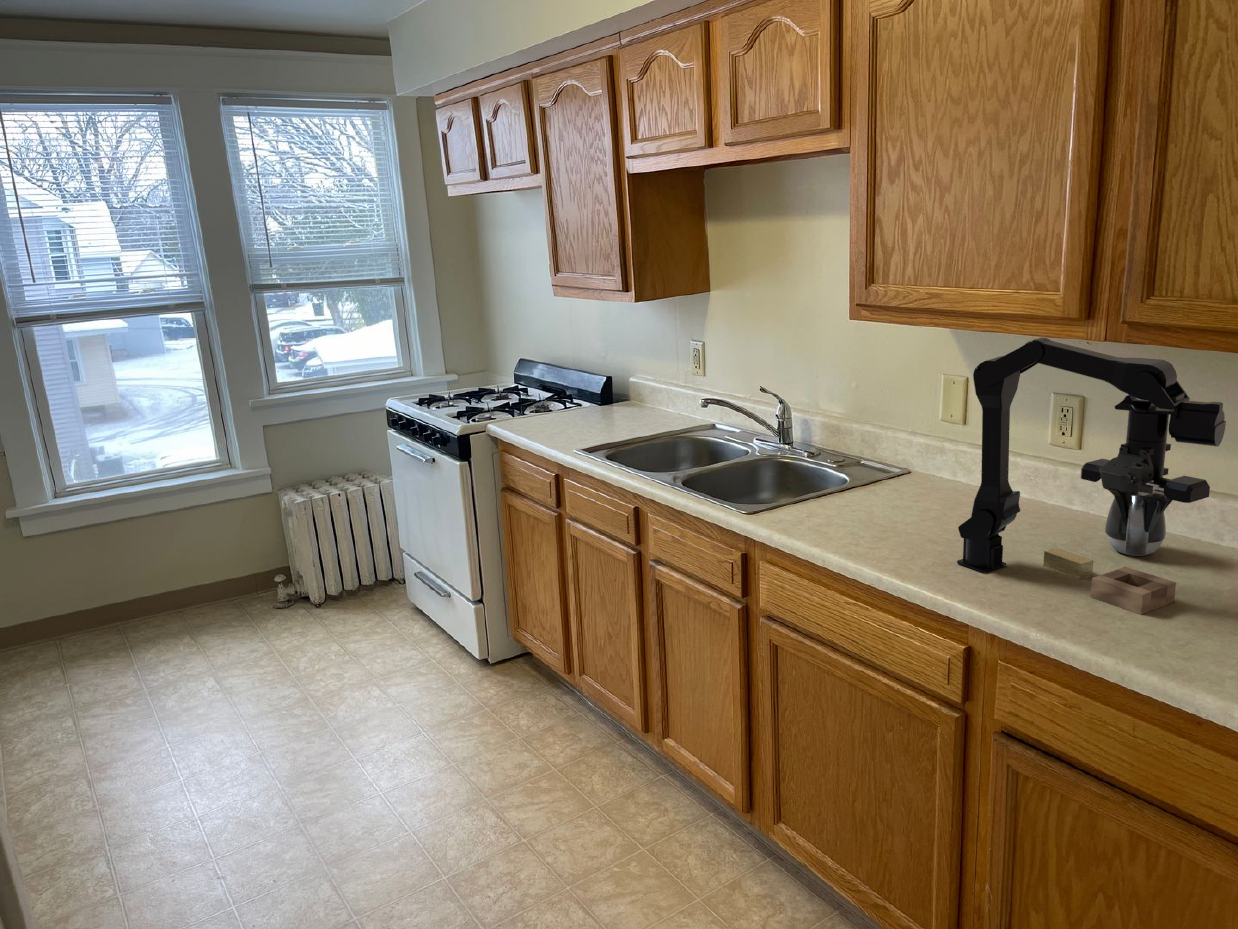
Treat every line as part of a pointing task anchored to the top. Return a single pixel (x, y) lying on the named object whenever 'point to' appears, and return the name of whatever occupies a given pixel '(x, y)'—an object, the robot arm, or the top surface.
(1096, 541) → the top surface
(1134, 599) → the socket block
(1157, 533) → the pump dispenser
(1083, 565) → the square bit
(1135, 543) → the cylinder
